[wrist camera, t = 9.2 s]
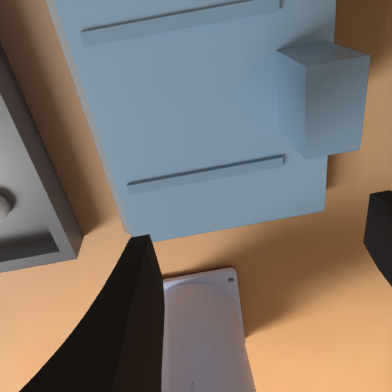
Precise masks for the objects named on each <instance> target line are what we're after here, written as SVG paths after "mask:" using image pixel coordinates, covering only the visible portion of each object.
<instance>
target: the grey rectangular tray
mask: <svg viewBox="0 0 392 392" xmlns="http://www.w3.org/2000/svg"><path fill="white" fill-rule="evenodd" d="M83 238H84V237H83V234H82V232H81V230H80V227H79V225H78V223H77V220H76V218H75V216H74V213H73V211H72V209H71V206H70V204H69V202H68V199H67V197H66V195H65V192H64V190H63V188H62V185H61V183H60V181H59V178H58V176H57V174H56V171H55V169H54V167H53V164H52V162H51V160H50V158H49V155H48V153H47V151H46V148H45V146H44V144H43V141H42V139H41V137H40V134H39V132H38V130H37V127H36V125H35V123H34V120H33V118H32V116H31V113H30V111H29V109H28V106H27V104H26V102H25V99H24V97H23V95H22V92H21V90H20V88H19V85H18V83H17V81H16V78H15V76H14V74H13V72H12V69H11V67H10V65H9V62H8V60H7V58H6V55H5V53H4V51H3V48H2V46H1V44H0V273H2V272H7V271H13V270H18V269H24V268H29V267H35V266H40V265H45V264H51V263H56V262H62V261H67V260H73V259H77V257H78V254H79V251H80V247H81V244H82V241H83Z"/></svg>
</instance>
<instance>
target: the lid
mask: <svg viewBox="0 0 392 392" xmlns="http://www.w3.org/2000/svg"><path fill="white" fill-rule="evenodd" d="M54 3H55V6H56V9H57V12H58V15H59V18H60V21H61V24H62V27H63V30H64V33H65V36H66V39H67V42H68V45H69V48H70V51H71V54H72V57H73V60H74V63H75V66H76V69H77V72H78V75H79V78H80V81H81V84H82V87H83V90H84V93H85V96H86V99H87V102H88V105H89V108H90V111H91V114H92V117H93V120H94V123H95V127H96V130H97V133H98V136H99V139H100V142H101V145H102V148H103V151H104V154H105V157H106V160H107V163H108V166H109V169H110V172H111V175H112V178H113V181H114V184H115V187H116V190H117V193H118V196H119V199H120V202H121V205H122V208H123V211H124V214H125V217H126V220H127V223H128V226H129V229H130V232H131V235H132V237H136V236H142V235H147V234H150V237H151V240H152V242H157V241H162V240H168V239H173V238H179V237H184V236H190V235H195V234H201V233H206V232H212V231H217V230H223V229H228V228H234V227H239V226H245V225H250V224H256V223H261V222H267V221H272V220H278V219H283V218H289V217H294V216H300V215H305V214H311V213H316V212H322V211H325V195H326V177H327V159H328V155H334V154H339V153H344V152H350V151H355V150H360V145H361V136H362V127H363V118H364V109H365V100H366V91H367V82H368V73H369V64H370V55H369V54H366V53H363V52H359V51H356V50H353V49H350V48H347V47H344V46H341V45H338V44H334V32H335V14H336V0H54Z"/></svg>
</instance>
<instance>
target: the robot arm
mask: <svg viewBox="0 0 392 392" xmlns="http://www.w3.org/2000/svg"><path fill="white" fill-rule="evenodd" d="M363 243H364V244H365V246H366V248H367V250H368V252H369V254H370V255H371V257H372V259H373V261H374V262H375V264H376V266H377V267H378V269H379V270H380V272H381V273H382V274H383V276H384V277H385V278H386V280H387V281H388V282H389V284H390V285H391V286H392V191H390V190H388V191H383V192H377V193H372V194H370V199H369V206H368V213H367V220H366V228H365V235H364V242H363ZM229 278H231V279H229ZM19 392H256V389H255V385H254V380H253V376H252V372H251V368H250V364H249V359H248V355H247V351H246V347H245V335H244V327H243V320H242V312H241V304H240V297H239V289H238V282H237V274H236V270H235V269H234V268H231V267H229V268H223V269H218V270H212V271H207V272H201V273H196V274H190V275H185V276H179V277H174V278H168V279H163V278H162V274H161V271H160V267H159V264H158V261H157V257H156V254H155V250H154V247H153V244H152V240H151V237H150V234H147V235H142V236H136V237H131V238H130V240H129V241H128V243H127V245H126V247H125V249H124V251H123V253H122V255H121V257H120V258H119V260H118V262H117V264H116V266H115V268H114V269H113V271H112V273H111V275H110V276H109V278H108V280H107V281H106V283H105V285H104V286H103V288H102V290H101V291H100V293H99V294H98V296H97V297H96V299H95V300H94V302H93V303H92V305H91V306H90V308H89V310H88V311H87V312H86V314H85V315H84V317H83V318H82V319H81V321H80V322H79V324H78V325H77V326H76V328H75V329H74V330H73V332H72V333H71V334H70V335H69V337H68V338H67V339H66V340H65V342H64V343H63V344H62V345H61V346H60V348H59V349H58V350H57V351H56V352H55V353H54V355H53V356H52V357H51V358H50V359H49V360H48V361H47V362H46V364H45V365H44V366H43V367H42V368H41V369H40V370H39V371H38V373H37V374H36V375H35V376H34V377H33V378H32V379H31V380H30V381H29V382H28V383H27V384H26V385H25V386H24V387H23V388H22V389H21V390H20V391H19Z"/></svg>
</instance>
